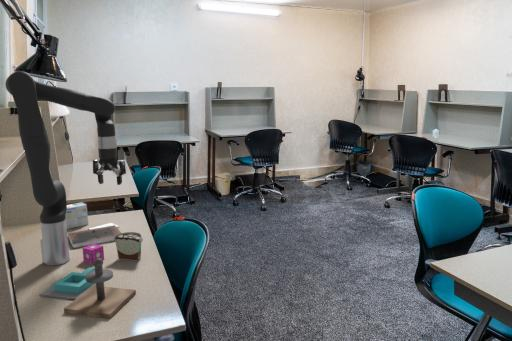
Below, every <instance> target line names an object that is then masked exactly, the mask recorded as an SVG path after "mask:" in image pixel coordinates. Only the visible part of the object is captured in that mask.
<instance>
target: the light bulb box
mask: <svg viewBox="0 0 512 341" xmlns="http://www.w3.org/2000/svg"><path fill="white" fill-rule="evenodd" d="M87 206H88V205H87V203H84V202H83V201H82V202H81V201H80V202H78V203H71V204H67V211H66V226H67V230H69V229H74V228H78V227H82V226H86V225H87V226H88V225H89V216H88V207H87Z"/></svg>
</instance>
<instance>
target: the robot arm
mask: <svg viewBox="0 0 512 341" xmlns="http://www.w3.org/2000/svg"><path fill="white" fill-rule="evenodd" d="M4 84H5V89H6V90H7V92H8V93H9V94H10V95H11V96H12V99H13V102H14V104H15V107H16V111H17V120H18V122H17V123H18V130H19V137H20V140H21V145H22V148H23V151H24V150H25V152H24V155H25V159H26V162H27V166H28V170H29V174H30V180H31V187H32V193H33V198H34V200H35V202H36V203H37V204H38V205H40V206H42V211H41V213H40V215H39V220H40V221H39V222H40V229H41V230H40V231H41V238H42V239H40V241H39V243H40V251H41V253H40V254H41V261H42V264H45V265H47V266H58V265H63V264H65V263H67V262H69V261H70V260H71V258H70V247H69V238H68V229H67V226H66V211H67V205H68V204H67V192H66V188H65V185H64V184H63V183H62V181H60V180H58V179H53V178H52V175H51V170H50V168H51V167H50V162H51V161H50V160H51V143H50V139H49V135H48V132H47V129H46V125H45V122H44V119H43V116H42V113H41V110H40V107H39V102H38V100H41V101H45V102H49V103H54V104H58V105H59V106H64V107H67V108H71V109H74V110H77V111H78V110H79V111H85V112H89V113H93V114H94V118H95V122H96V130H97V152H98V158H99V159H93V160H92V173H93V174H94V175H96V176H97V182H98V184H99V185H102V184H104V172H107V171H109V172H113V173H114V174H115V175H116V185H117V186H120V185H122V183H123V176H124V175H126V174H127V170H126V162H125V160H124V159H123V160H118V146H117V145H118V144H117V143H118V142H117V138H116V127H115V123H114V122H113V118H112V115H113V114H114V113H115V111H116V105H115V103H114V102H113V101H112V100H111V99H108V98H103V97H99V96H95V95H91V94H88V93H85V92H82V91H78V90H74V89H70V88H64V87H60V86H55V85H50V84H45V83H42V82H40V81H37V80H36V79H35V78H33V77H32V75H31V74H30V73H28V72H26V71H22V70H17V71H14V72H12V73H11V74H10V75H9V76H7V78H6V81H5V83H4ZM99 166H100V167H99Z"/></svg>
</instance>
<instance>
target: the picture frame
mask: <svg viewBox="0 0 512 341" xmlns="http://www.w3.org/2000/svg"><path fill="white" fill-rule="evenodd" d="M120 233H122V232H121V231H120V229H119V228H117V227H116V226H115V225H114V226H108V227H102V228H96V229H90V230H88V229H85V230H80V231H73V232H67V236H68V241H69V242H70V244H71V246H72V248H73V249H79V248H84V247H87V246H89V245H92V244H97V245H100V244H103V243H110V242H116V241H115V240H114V237H115V235H117V234H120Z"/></svg>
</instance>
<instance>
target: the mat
mask: <svg viewBox="0 0 512 341" xmlns="http://www.w3.org/2000/svg"><path fill="white" fill-rule="evenodd" d="M72 283H76V284H78V283H79V282H77V281H74V282H72ZM92 286H96V283H93V284H92V285H91V286H90V287H88V288H87V289H86V290H84V291H83V292H82V293H80V294H78V293H69V292H60V291H54V284H52V285H51V286H49V287H48V288H45V290H43V291H41V292H40V293H39V294H38V296H40V297H45V298H46V297H47V298H56V299H65V300H72V301H74V300H75V299H77V298H78V297H79V296H81V295H82V294H83V293H84V292H86V291H87V290H88V289H90V288H91V287H92Z"/></svg>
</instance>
